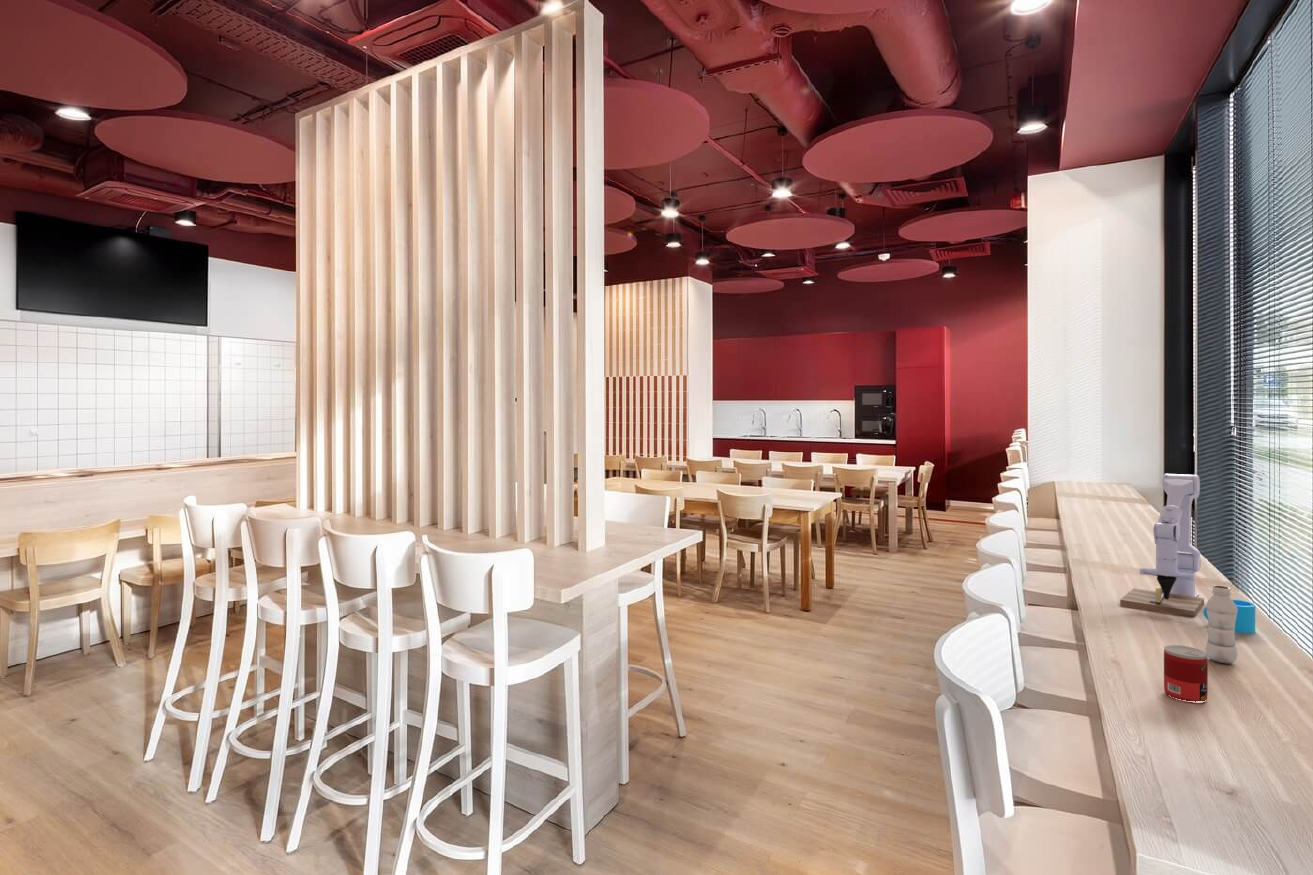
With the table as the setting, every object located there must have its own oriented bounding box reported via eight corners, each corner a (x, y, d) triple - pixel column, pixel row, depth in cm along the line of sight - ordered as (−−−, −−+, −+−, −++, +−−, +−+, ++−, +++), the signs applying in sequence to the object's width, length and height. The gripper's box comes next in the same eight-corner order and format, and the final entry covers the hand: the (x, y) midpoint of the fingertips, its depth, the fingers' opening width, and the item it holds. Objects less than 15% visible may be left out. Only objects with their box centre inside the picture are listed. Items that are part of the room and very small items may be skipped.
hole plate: (1133, 593, 240) (1133, 587, 240) (1204, 604, 225) (1204, 597, 225) (1120, 605, 226) (1120, 599, 226) (1194, 617, 212) (1194, 610, 212)
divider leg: (1156, 592, 233) (1156, 578, 233) (1169, 593, 231) (1169, 580, 231) (1151, 602, 222) (1151, 588, 222) (1164, 603, 219) (1164, 589, 219)
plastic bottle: (1229, 658, 177) (1229, 584, 176) (1242, 667, 170) (1243, 591, 170) (1200, 656, 179) (1200, 583, 178) (1212, 665, 172) (1212, 589, 172)
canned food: (1210, 706, 149) (1210, 659, 148) (1166, 699, 153) (1166, 653, 153) (1204, 694, 155) (1204, 648, 155) (1162, 687, 159) (1162, 643, 159)
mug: (1254, 628, 200) (1254, 601, 200) (1256, 635, 194) (1256, 608, 193) (1203, 621, 208) (1203, 595, 207) (1203, 628, 201) (1203, 601, 201)
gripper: (1137, 557, 223) (1137, 597, 224) (1192, 563, 213) (1192, 605, 213) (1142, 554, 228) (1142, 592, 228) (1195, 560, 218) (1195, 600, 218)
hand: (1166, 598), depth 221 cm, fingers closed
